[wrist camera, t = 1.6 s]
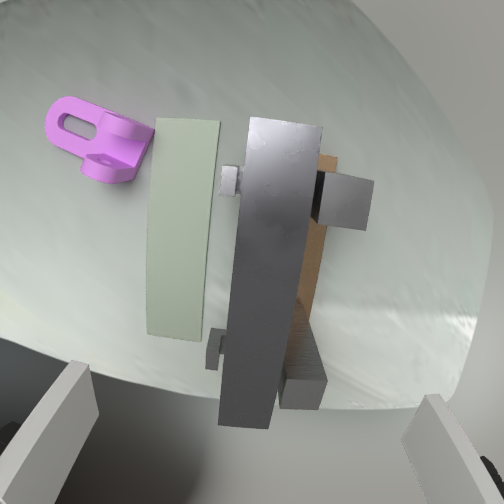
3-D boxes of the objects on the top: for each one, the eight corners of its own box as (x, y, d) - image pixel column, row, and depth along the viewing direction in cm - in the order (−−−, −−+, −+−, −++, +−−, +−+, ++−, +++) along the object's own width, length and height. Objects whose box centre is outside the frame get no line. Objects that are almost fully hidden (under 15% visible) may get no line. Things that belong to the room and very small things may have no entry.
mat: (148, 332, 36) (147, 334, 36) (157, 118, 29) (156, 117, 29) (200, 340, 36) (200, 342, 36) (220, 121, 30) (220, 121, 29)
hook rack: (215, 327, 36) (199, 414, 22) (234, 142, 30) (221, 131, 17) (302, 335, 36) (325, 422, 23) (334, 157, 31) (392, 159, 17)
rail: (223, 379, 29) (217, 424, 23) (250, 127, 22) (250, 116, 17) (265, 383, 29) (268, 429, 23) (305, 134, 22) (322, 127, 17)
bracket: (156, 129, 30) (132, 123, 23) (134, 179, 31) (106, 185, 25) (62, 92, 28) (27, 83, 22) (45, 137, 30) (8, 137, 23)
